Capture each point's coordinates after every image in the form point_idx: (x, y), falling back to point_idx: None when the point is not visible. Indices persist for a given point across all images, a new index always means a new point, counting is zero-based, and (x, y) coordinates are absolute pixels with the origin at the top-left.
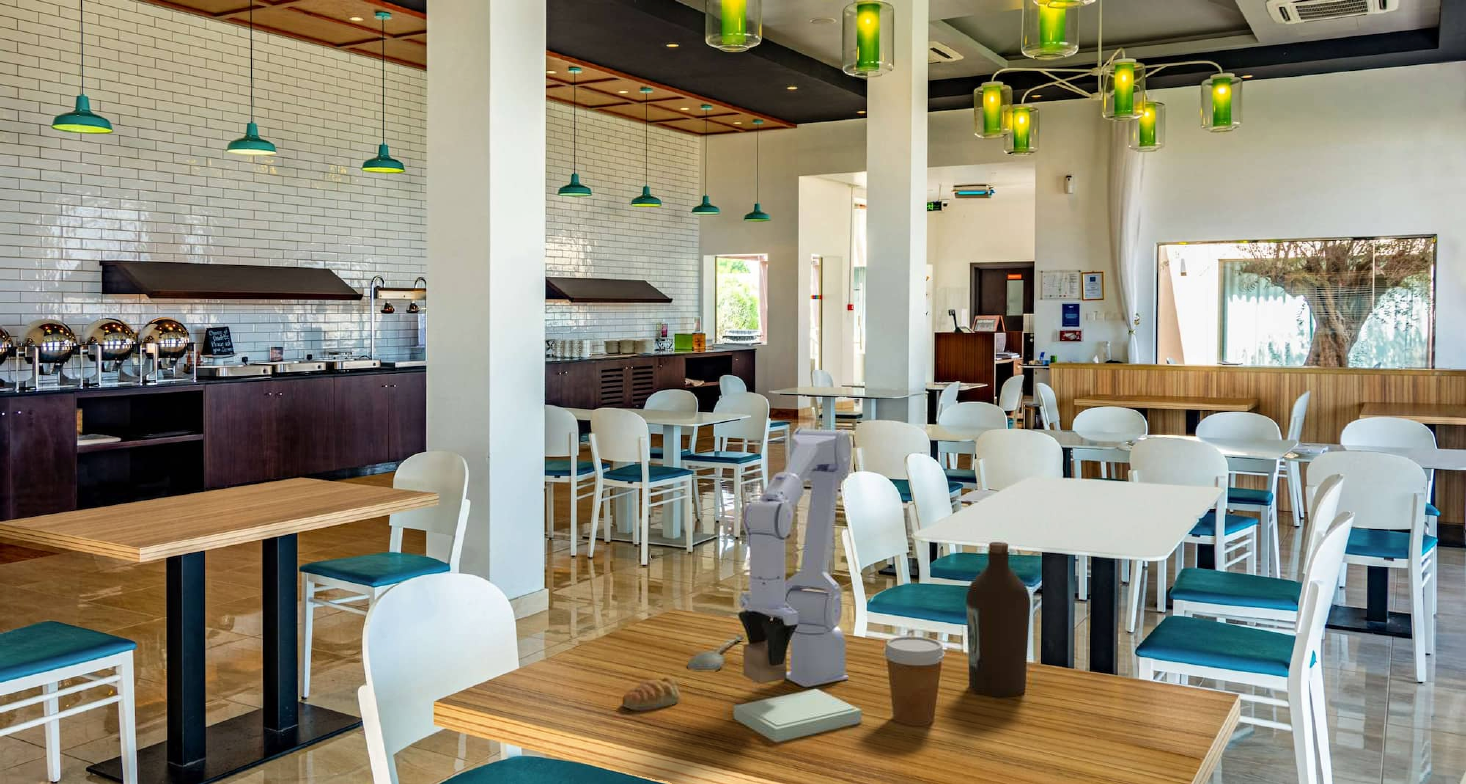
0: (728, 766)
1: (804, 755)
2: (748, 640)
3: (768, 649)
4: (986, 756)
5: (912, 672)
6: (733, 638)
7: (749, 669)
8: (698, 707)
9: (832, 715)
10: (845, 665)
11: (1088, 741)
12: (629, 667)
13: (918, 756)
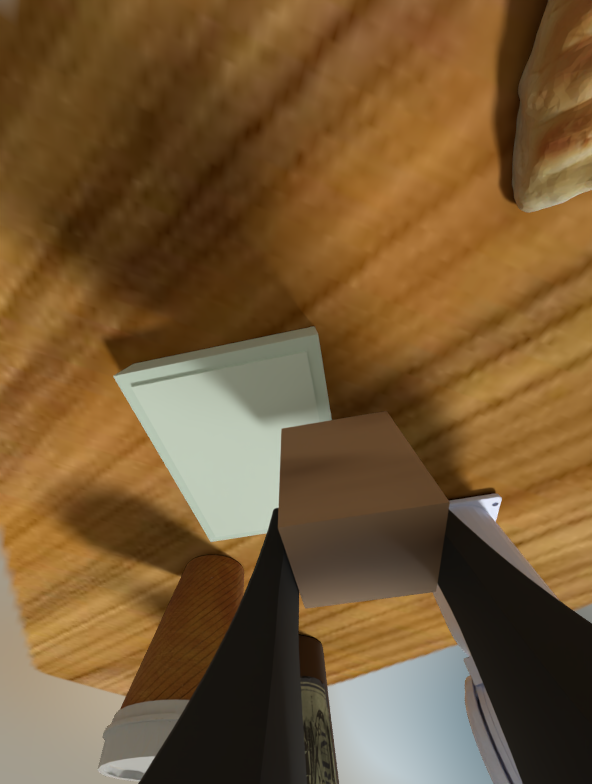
0: None
1: (54, 392)
2: (479, 540)
3: (277, 568)
4: (65, 586)
5: (132, 685)
6: None
7: (354, 437)
8: (439, 260)
9: (190, 499)
10: None
11: (115, 651)
12: None
13: (60, 534)
